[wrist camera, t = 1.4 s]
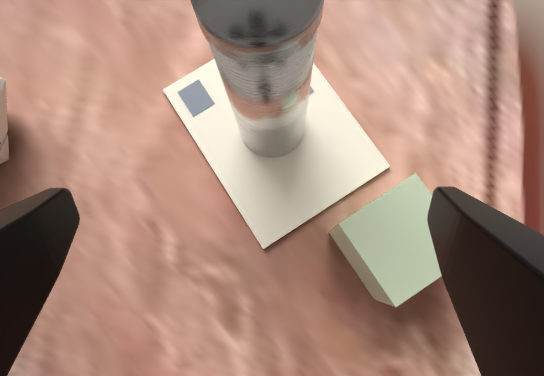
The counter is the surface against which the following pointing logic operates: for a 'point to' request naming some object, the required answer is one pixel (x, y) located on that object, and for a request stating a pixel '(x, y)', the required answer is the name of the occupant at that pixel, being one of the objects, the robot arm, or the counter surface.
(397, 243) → the block
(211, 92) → the letter
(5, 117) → the die
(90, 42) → the counter surface
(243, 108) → the tin
